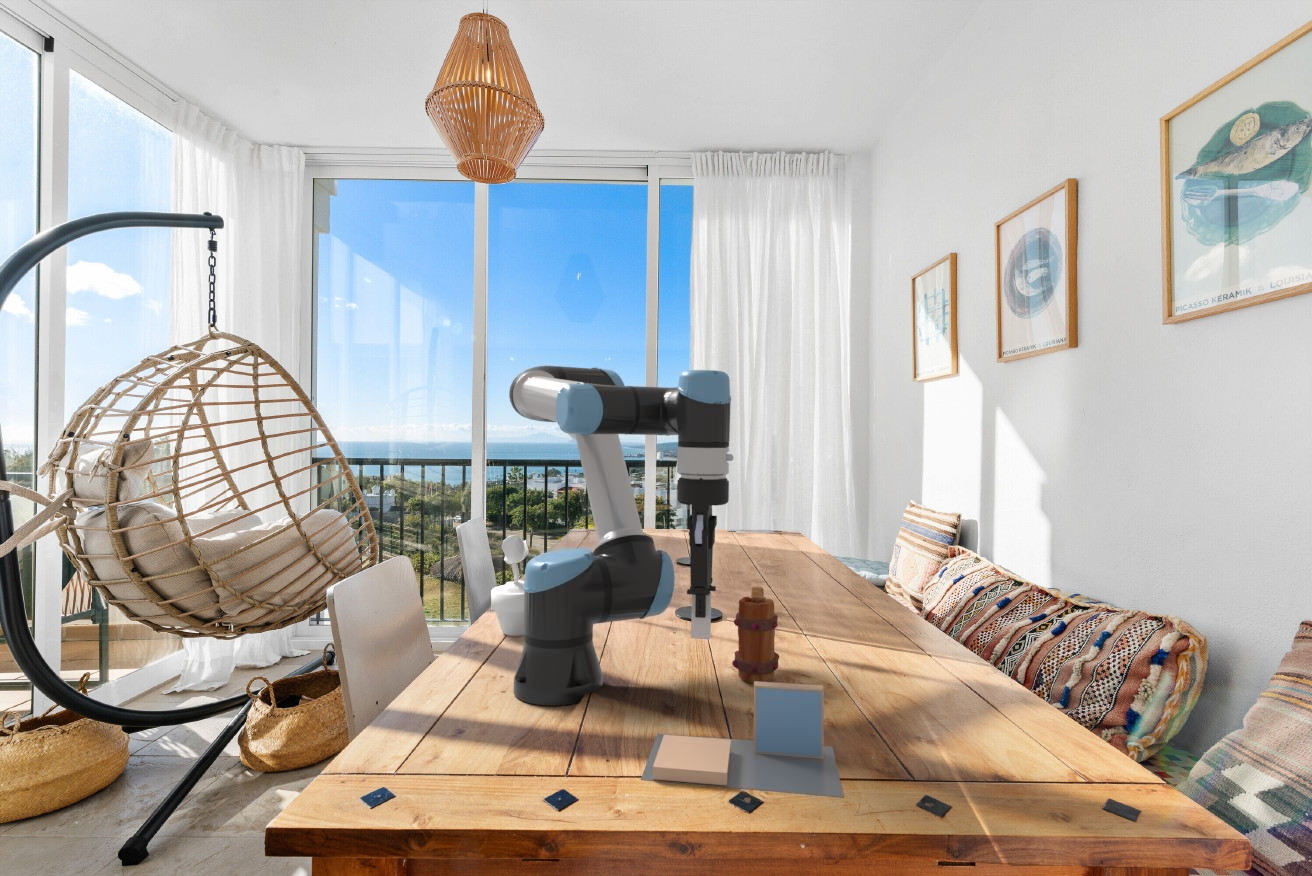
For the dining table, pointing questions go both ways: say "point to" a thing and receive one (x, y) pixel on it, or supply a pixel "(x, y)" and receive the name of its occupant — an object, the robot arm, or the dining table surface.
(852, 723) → the dining table surface
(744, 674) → the mug
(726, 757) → the tile left
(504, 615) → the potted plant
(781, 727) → the tile right
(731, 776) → the slate board
